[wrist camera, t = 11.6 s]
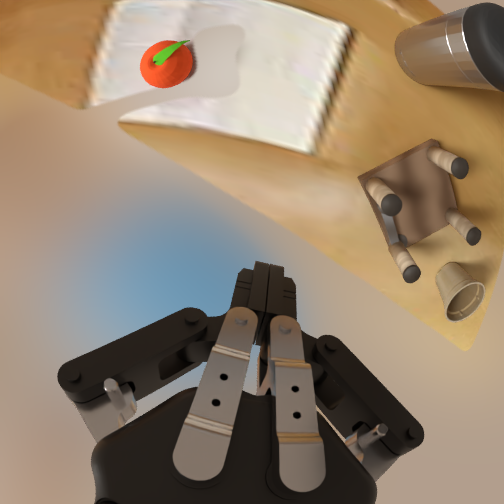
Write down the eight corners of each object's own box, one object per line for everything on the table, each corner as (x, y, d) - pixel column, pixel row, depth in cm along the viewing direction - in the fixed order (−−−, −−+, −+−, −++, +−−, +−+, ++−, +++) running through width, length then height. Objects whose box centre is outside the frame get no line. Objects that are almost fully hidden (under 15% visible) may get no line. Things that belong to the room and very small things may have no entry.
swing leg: (372, 201, 36) (390, 225, 30) (388, 194, 35) (409, 216, 29) (390, 256, 40) (405, 285, 34) (404, 250, 40) (421, 278, 33)
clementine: (185, 31, 28) (166, 20, 22) (215, 61, 30) (200, 54, 24) (145, 67, 31) (120, 65, 25) (172, 97, 33) (150, 99, 27)
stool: (431, 138, 32) (466, 153, 24) (454, 213, 37) (482, 241, 29) (356, 177, 37) (375, 201, 29) (388, 249, 43) (407, 284, 34)
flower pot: (469, 275, 43) (488, 302, 36) (436, 300, 47) (451, 329, 40) (459, 246, 40) (481, 272, 33) (422, 274, 44) (439, 304, 37)
